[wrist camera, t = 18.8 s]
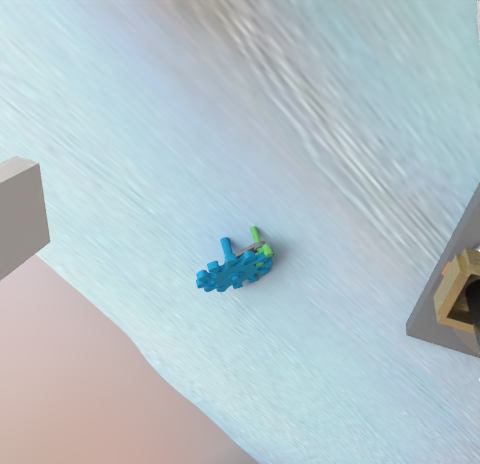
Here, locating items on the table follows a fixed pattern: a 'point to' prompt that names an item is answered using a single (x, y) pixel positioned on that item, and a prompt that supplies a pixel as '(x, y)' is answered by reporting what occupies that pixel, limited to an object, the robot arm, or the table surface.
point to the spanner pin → (474, 306)
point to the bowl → (478, 17)
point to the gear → (237, 266)
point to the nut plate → (424, 315)
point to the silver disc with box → (459, 296)
